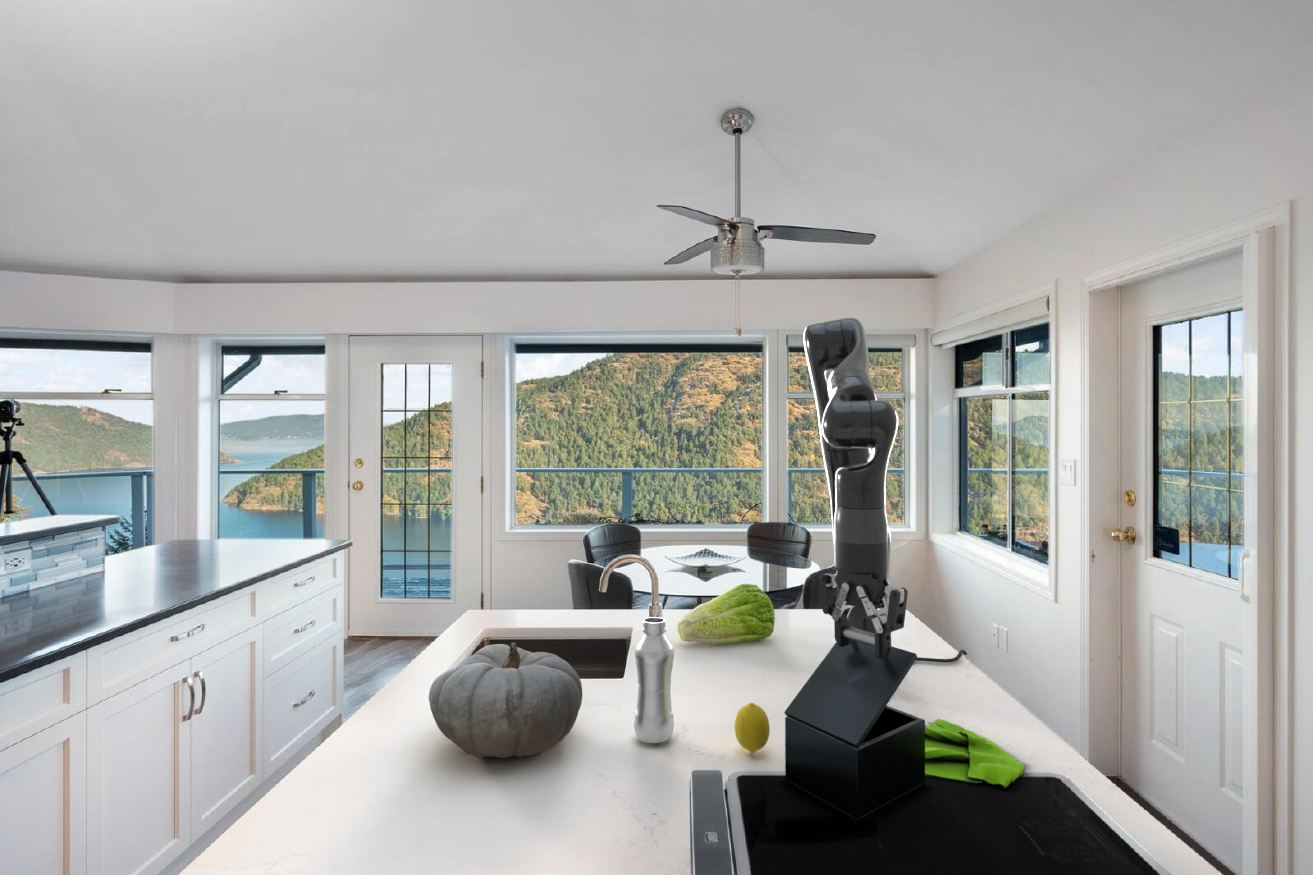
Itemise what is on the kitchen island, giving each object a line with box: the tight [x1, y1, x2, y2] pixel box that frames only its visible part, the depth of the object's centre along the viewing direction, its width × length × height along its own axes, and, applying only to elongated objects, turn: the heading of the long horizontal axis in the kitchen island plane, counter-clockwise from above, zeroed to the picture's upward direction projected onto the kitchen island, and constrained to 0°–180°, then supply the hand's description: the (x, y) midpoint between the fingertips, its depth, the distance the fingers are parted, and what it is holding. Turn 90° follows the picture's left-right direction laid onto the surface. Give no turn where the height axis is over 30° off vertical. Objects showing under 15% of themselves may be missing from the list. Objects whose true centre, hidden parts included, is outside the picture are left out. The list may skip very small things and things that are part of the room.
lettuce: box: [676, 583, 776, 645], centre depth 163 cm, size 14×24×14 cm
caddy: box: [784, 704, 926, 826], centre depth 95 cm, size 16×13×10 cm
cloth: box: [925, 718, 1026, 789], centre depth 106 cm, size 20×22×2 cm
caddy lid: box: [784, 626, 918, 749], centre depth 94 cm, size 16×13×5 cm
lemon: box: [734, 702, 771, 754], centre depth 105 cm, size 6×6×8 cm
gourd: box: [428, 642, 583, 759], centre depth 109 cm, size 25×25×17 cm
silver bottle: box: [633, 616, 675, 744], centre depth 110 cm, size 6×7×20 cm
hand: (861, 650), depth 96 cm, fingers closed on caddy lid, 6 cm apart
